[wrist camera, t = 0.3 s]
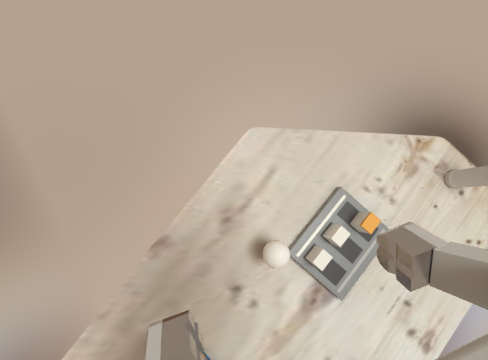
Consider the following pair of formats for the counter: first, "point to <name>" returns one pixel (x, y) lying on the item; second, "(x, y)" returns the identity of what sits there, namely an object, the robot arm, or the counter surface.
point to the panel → (329, 249)
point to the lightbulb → (276, 254)
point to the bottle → (467, 177)
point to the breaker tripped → (365, 222)
